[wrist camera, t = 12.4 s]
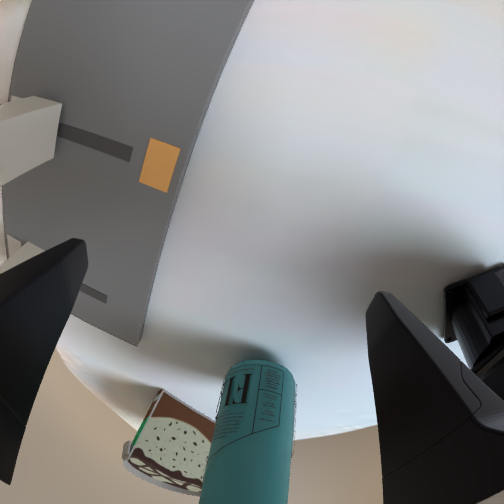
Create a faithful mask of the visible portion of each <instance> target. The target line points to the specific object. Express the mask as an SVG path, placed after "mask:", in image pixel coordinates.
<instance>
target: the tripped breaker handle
mask: <svg viewBox="0 0 504 504" xmlns="http://www.w3.org/2000/svg"><path fill="white" fill-rule="evenodd" d="M61 108H62V103H59V102H56V101H52V100H48V99H44V98H40V97H37V96H31V97H26V98H22V99H19V100H15V101H11V102H7V103H4V104H0V187H1V186H2V185H4V184H6V183H7V182H9V181H11V180H13V179H14V178H16V177H18V176H20V175H22V174H23V173H25V172H27V171H29V170H31V169H33V168H35V167H37V166H39V165H41V164H43V163H44V162H46V161H48V160H51V159H53V158H54V151H55V144H56V137H57V130H58V124H59V118H60V113H61Z"/></svg>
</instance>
